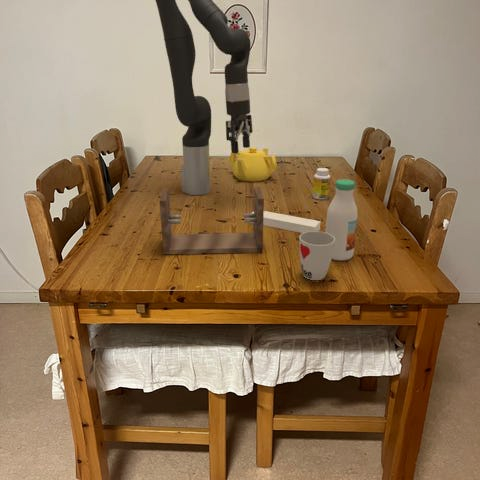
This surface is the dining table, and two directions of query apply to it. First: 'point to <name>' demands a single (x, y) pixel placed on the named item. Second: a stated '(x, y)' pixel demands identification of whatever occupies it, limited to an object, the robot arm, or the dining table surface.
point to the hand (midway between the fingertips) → (240, 150)
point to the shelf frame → (214, 240)
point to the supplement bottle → (321, 184)
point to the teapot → (253, 164)
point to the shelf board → (289, 222)
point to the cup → (315, 253)
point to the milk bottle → (342, 220)
